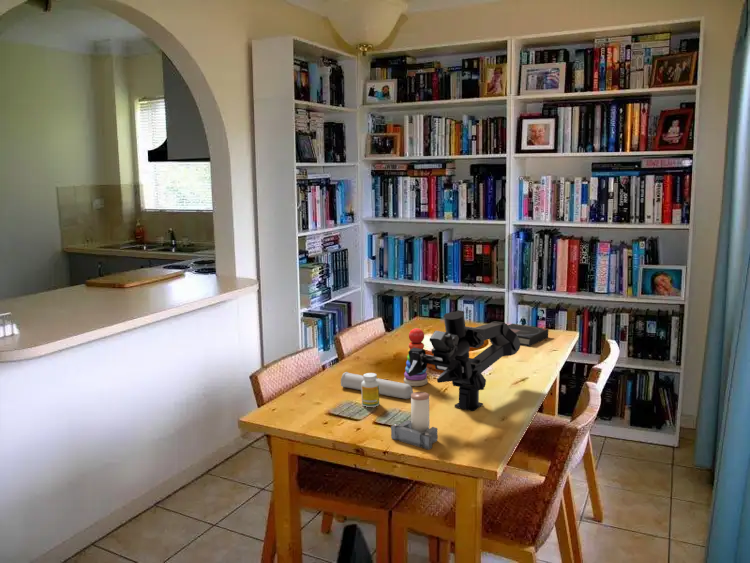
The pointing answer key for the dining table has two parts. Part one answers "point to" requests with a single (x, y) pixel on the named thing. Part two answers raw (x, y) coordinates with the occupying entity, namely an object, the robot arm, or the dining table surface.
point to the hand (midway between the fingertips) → (423, 377)
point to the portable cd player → (529, 334)
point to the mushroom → (420, 411)
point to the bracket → (414, 435)
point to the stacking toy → (416, 342)
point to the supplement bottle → (370, 390)
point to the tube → (384, 386)
